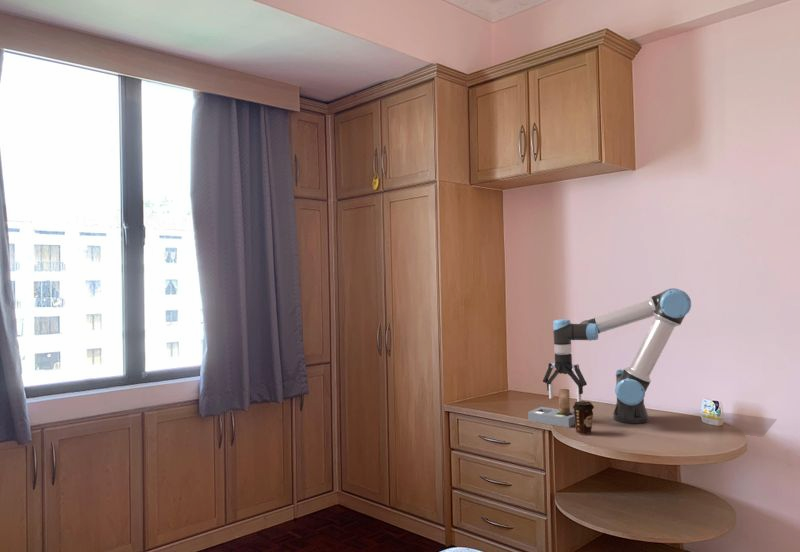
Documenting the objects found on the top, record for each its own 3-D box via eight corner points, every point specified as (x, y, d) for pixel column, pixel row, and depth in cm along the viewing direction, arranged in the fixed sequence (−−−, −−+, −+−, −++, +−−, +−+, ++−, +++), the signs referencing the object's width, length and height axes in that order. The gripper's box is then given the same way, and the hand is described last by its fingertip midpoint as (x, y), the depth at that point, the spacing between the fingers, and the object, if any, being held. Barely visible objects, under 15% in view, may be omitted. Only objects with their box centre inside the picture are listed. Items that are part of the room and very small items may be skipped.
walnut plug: (571, 422, 264) (570, 389, 264) (567, 424, 261) (566, 391, 261) (562, 420, 267) (561, 388, 267) (557, 422, 264) (557, 390, 264)
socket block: (541, 414, 279) (541, 406, 279) (581, 421, 266) (580, 412, 266) (528, 420, 269) (528, 411, 269) (568, 427, 256) (568, 418, 256)
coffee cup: (596, 431, 248) (596, 401, 248) (592, 436, 241) (591, 405, 241) (576, 429, 252) (575, 399, 252) (571, 434, 245) (570, 403, 245)
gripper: (592, 353, 258) (595, 400, 258) (541, 350, 275) (544, 395, 275) (585, 355, 253) (588, 404, 253) (534, 352, 269) (536, 398, 269)
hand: (565, 399), depth 264 cm, fingers open, 13 cm apart
